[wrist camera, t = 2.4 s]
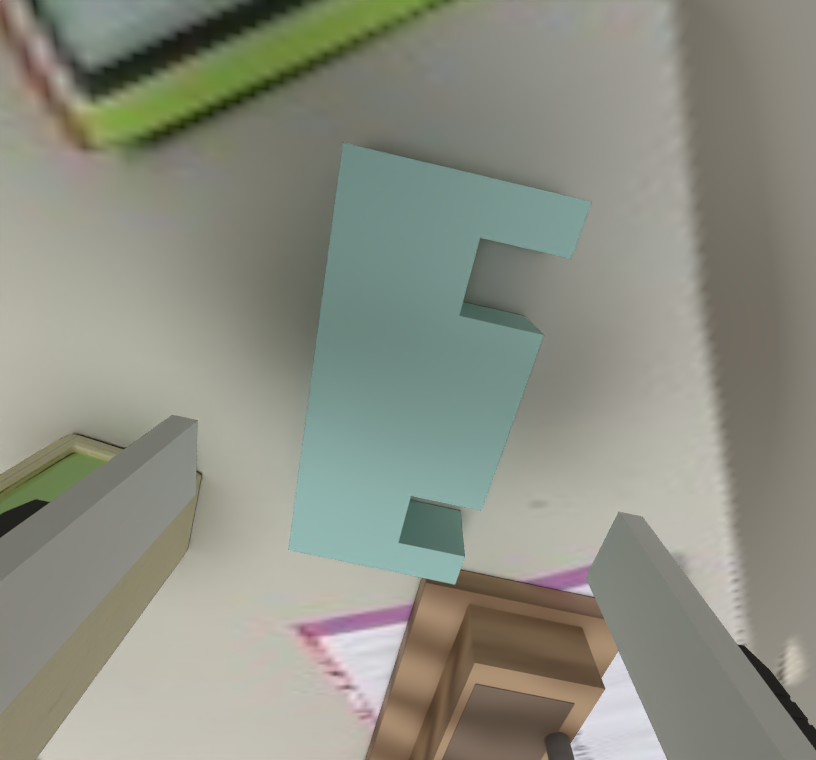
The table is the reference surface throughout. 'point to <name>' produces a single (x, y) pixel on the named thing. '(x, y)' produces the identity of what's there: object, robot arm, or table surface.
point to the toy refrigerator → (109, 621)
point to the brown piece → (493, 673)
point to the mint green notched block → (414, 360)
